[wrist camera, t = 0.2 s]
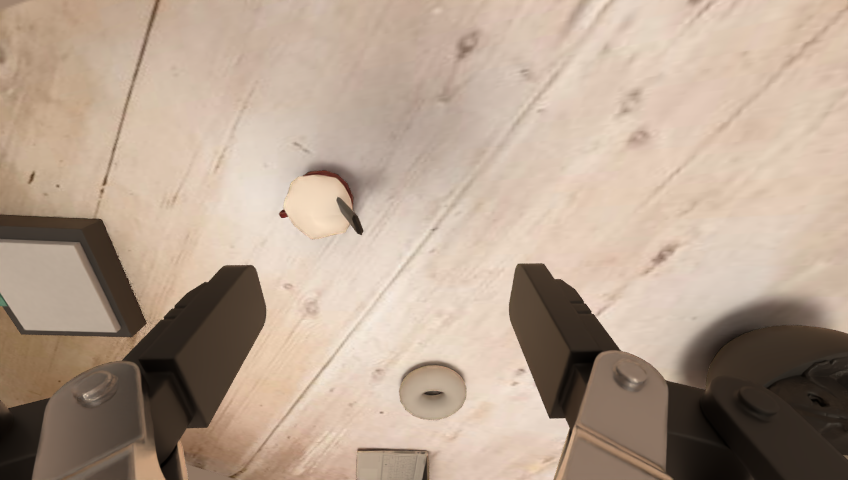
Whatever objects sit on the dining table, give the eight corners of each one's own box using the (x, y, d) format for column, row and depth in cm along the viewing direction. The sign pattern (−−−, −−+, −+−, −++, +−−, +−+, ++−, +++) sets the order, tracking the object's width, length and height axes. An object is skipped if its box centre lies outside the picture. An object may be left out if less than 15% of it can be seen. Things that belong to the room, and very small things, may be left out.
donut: (419, 411, 53) (475, 391, 51) (419, 432, 50) (479, 411, 48) (387, 374, 49) (446, 351, 47) (385, 395, 46) (448, 371, 44)
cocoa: (290, 214, 36) (239, 275, 26) (285, 158, 34) (227, 201, 23) (375, 222, 37) (361, 284, 27) (378, 168, 34) (363, 213, 24)
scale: (-25, 213, 35) (-65, 226, 33) (101, 219, 36) (74, 232, 33) (41, 320, 42) (14, 339, 39) (146, 323, 43) (127, 342, 40)
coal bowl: (767, 394, 54) (927, 541, 37) (650, 391, 52) (760, 542, 36) (849, 295, 44) (1112, 433, 28) (708, 289, 43) (894, 430, 26)
